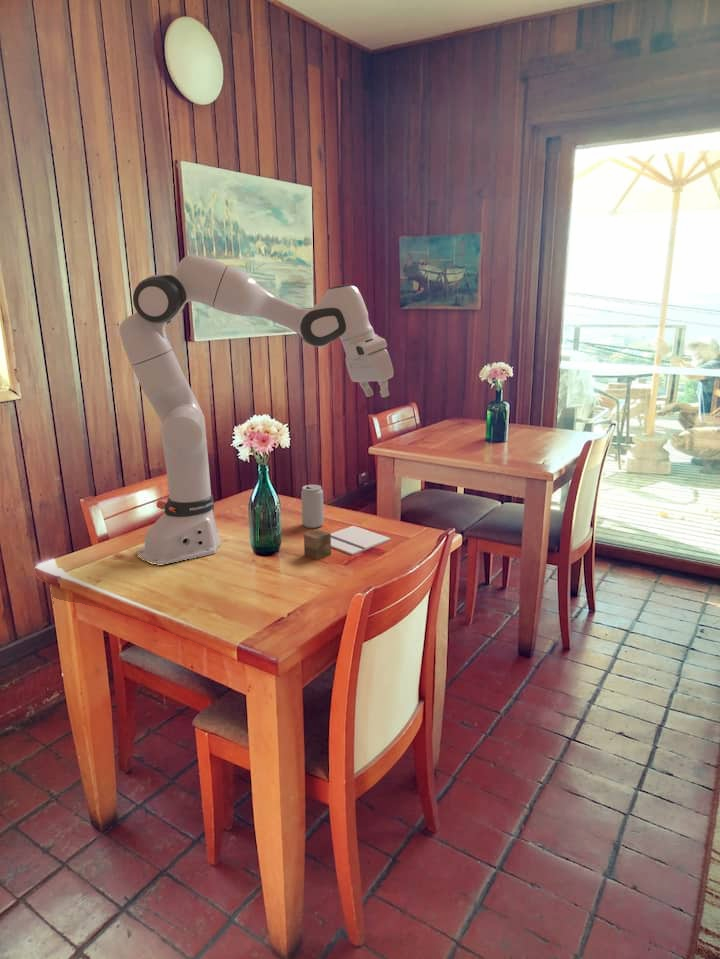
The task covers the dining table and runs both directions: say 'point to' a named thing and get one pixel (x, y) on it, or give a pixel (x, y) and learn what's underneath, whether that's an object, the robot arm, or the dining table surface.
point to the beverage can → (312, 506)
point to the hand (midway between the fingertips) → (377, 396)
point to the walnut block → (317, 544)
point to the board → (356, 540)
